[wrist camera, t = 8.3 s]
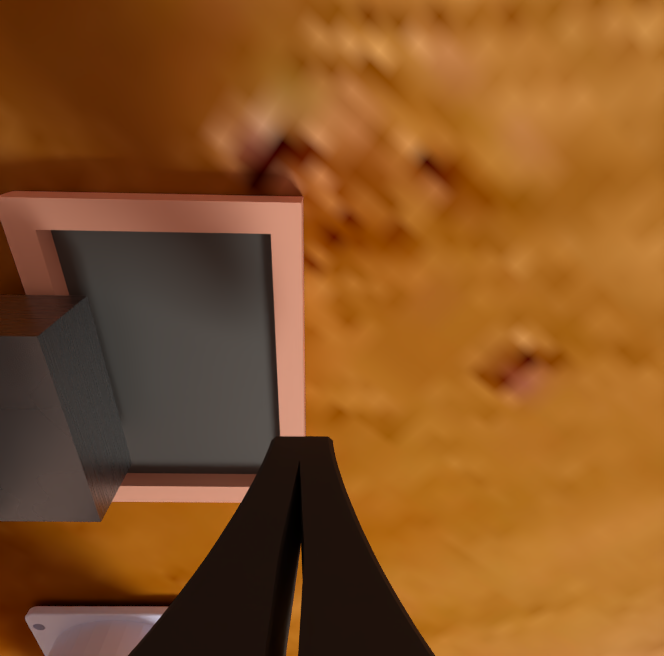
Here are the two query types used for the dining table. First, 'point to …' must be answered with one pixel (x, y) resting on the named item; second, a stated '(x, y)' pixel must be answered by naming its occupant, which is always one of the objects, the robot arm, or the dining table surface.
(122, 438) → the grey piece
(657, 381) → the dining table surface
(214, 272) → the picture frame
